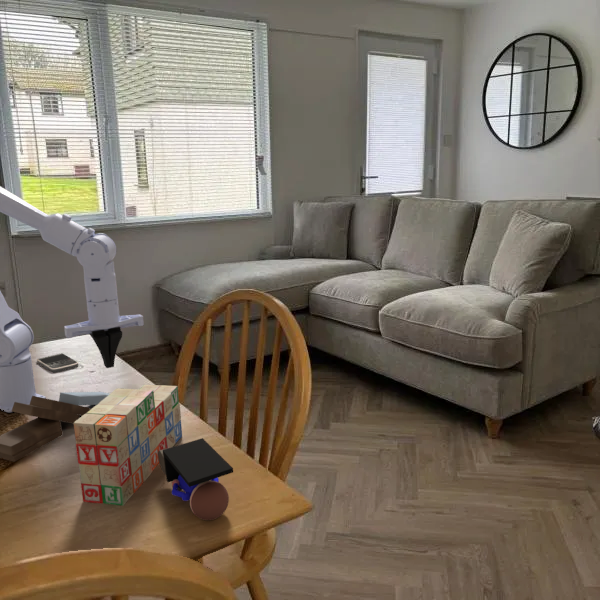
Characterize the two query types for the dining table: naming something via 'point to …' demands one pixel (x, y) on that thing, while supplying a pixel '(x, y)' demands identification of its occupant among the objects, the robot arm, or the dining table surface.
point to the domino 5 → (82, 397)
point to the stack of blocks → (125, 440)
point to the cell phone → (57, 362)
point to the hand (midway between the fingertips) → (109, 366)
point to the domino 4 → (58, 406)
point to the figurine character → (197, 477)
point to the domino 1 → (44, 413)
